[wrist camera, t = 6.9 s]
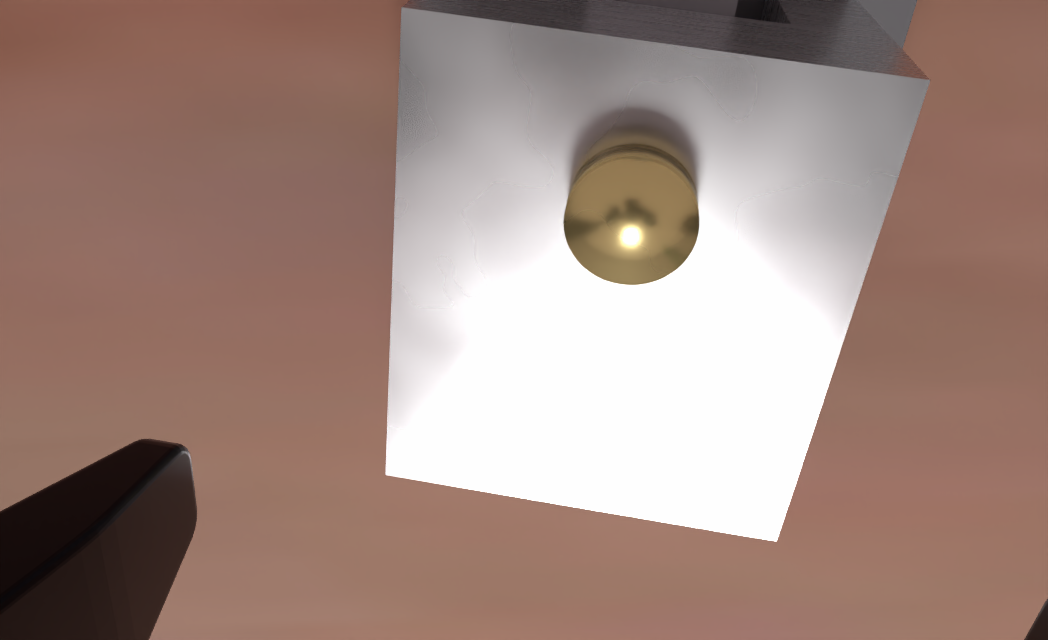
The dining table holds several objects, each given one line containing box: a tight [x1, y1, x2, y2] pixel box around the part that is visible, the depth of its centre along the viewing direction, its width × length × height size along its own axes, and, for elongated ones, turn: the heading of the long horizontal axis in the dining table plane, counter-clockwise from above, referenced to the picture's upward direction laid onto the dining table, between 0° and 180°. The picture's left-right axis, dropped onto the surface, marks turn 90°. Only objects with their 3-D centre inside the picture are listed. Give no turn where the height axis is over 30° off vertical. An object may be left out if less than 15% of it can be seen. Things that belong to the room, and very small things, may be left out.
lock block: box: [386, 0, 930, 541], centre depth 14 cm, size 7×6×6 cm
